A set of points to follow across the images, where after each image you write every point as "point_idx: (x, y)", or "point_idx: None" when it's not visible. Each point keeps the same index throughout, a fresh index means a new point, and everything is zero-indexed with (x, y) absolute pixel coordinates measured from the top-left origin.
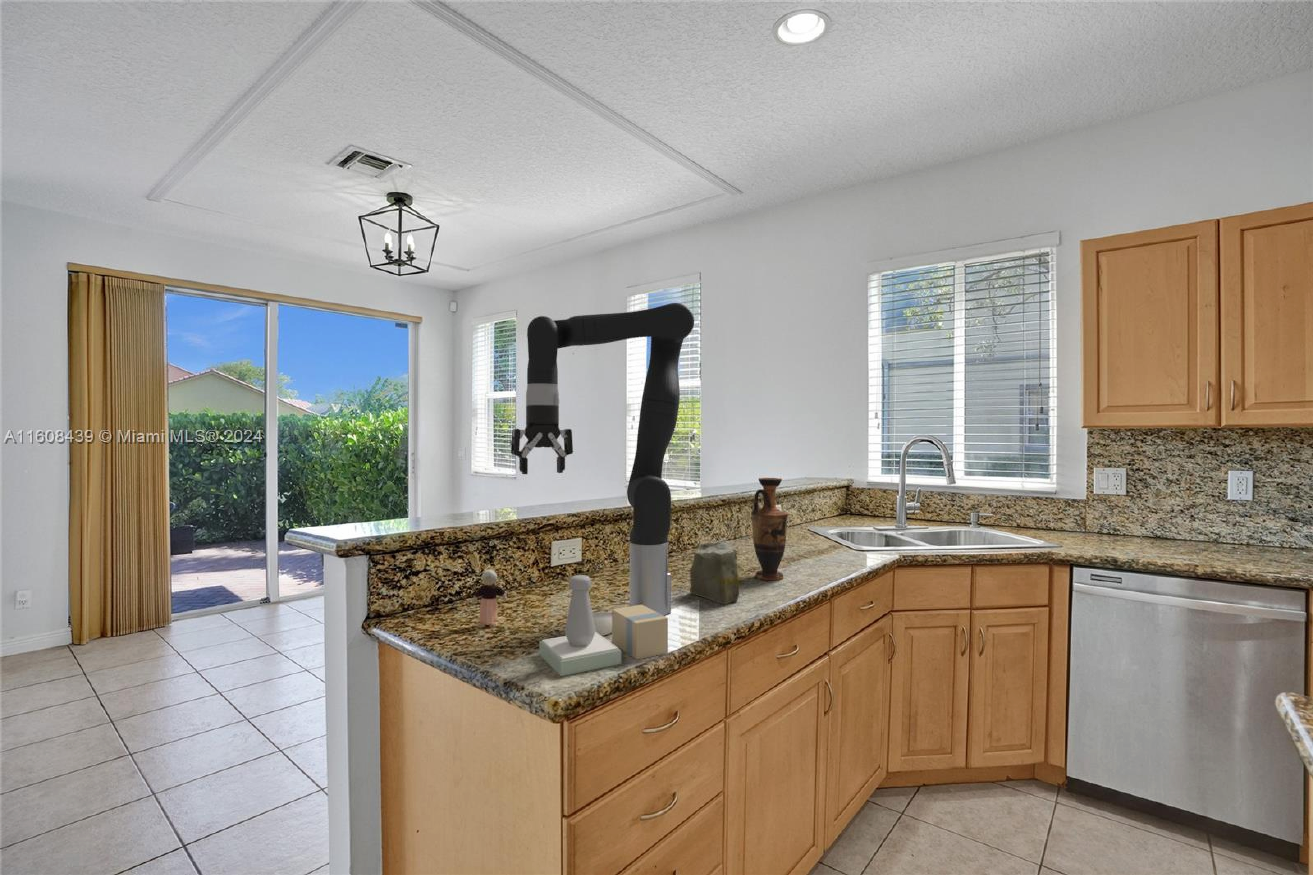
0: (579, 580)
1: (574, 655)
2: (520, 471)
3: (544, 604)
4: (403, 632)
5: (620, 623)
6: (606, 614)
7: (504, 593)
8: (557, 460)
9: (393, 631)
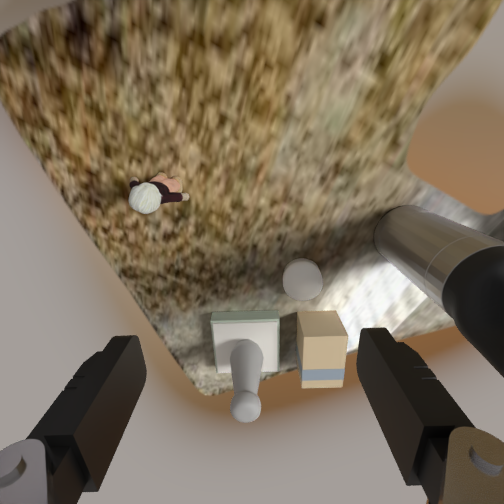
0: (240, 421)
1: (230, 371)
2: (98, 355)
3: (280, 102)
4: (46, 157)
5: (301, 348)
6: (317, 280)
7: (181, 200)
8: (401, 408)
9: (29, 145)
